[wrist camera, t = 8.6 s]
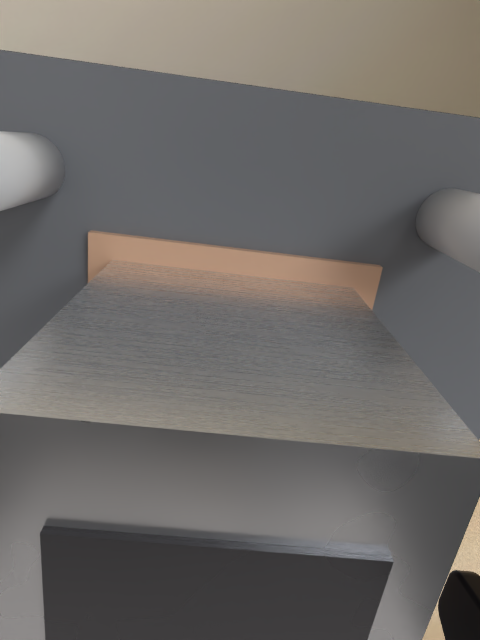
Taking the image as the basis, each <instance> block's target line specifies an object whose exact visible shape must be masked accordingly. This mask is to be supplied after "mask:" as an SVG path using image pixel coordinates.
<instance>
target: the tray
mask: <svg viewBox="0 0 480 640" xmlns="http://www.w3.org/2000/svg"><path fill="white" fill-rule="evenodd" d="M111 260H118V261H127V262H136V263H144V264H153V265H162V266H170V267H179V268H188V269H196V270H205V271H214V272H222V273H231V274H240V275H248V276H257V277H266V278H274V279H283V280H292V281H300V282H309V283H318V284H326V285H335V286H344V287H352V288H354V289H355V290H356V292H357V293H358V294H359V295H360V297H361V298H362V299H363V300H364V301H365V303H366V304H367V305H368V306H369V308H370V309H371V310H372V311H373V312H374V314H375V315H376V316H377V317H378V318H379V320H380V321H381V322H382V323H383V325H384V326H385V327H386V328H387V329H388V331H389V332H390V333H391V334H392V336H393V337H394V338H395V339H396V340H397V342H398V343H399V344H400V345H401V346H402V348H403V349H404V350H405V351H406V353H407V354H408V355H409V356H410V357H411V359H412V360H413V361H414V362H415V364H416V365H417V366H418V367H419V368H420V370H421V371H422V372H423V373H424V374H425V376H426V377H427V378H428V379H429V381H430V382H431V383H432V384H433V385H434V387H435V388H436V389H437V390H438V392H439V393H440V394H441V395H442V396H443V398H444V399H445V400H446V401H447V403H448V404H449V405H450V406H451V407H452V409H453V410H454V411H455V412H456V413H457V415H458V416H459V417H460V418H461V420H462V421H463V422H464V423H465V424H466V426H467V427H468V428H469V429H470V431H471V432H472V433H473V434H474V435H475V437H476V438H477V439H478V440H479V439H480V118H478V117H471V116H464V115H457V114H450V113H442V112H435V111H428V110H421V109H414V108H407V107H400V106H393V105H386V104H379V103H372V102H365V101H358V100H351V99H344V98H337V97H330V96H323V95H316V94H308V93H301V92H294V91H287V90H280V89H273V88H266V87H259V86H252V85H245V84H238V83H231V82H224V81H217V80H210V79H203V78H196V77H189V76H181V75H174V74H167V73H160V72H153V71H146V70H139V69H132V68H125V67H118V66H111V65H104V64H97V63H90V62H83V61H76V60H69V59H62V58H55V57H47V56H40V55H33V54H26V53H19V52H12V51H5V50H0V369H1V368H2V367H3V366H4V365H5V364H6V363H7V362H8V361H9V360H10V359H11V358H12V357H13V356H14V355H15V354H16V353H17V352H18V351H19V350H20V349H21V348H22V347H23V346H24V345H25V344H26V343H27V342H28V341H29V340H31V339H32V338H33V337H34V336H35V335H36V334H37V333H38V332H39V331H40V330H41V329H42V328H43V327H44V326H45V325H46V324H47V323H48V322H49V321H50V320H51V319H52V318H53V317H54V316H55V315H56V314H57V313H58V312H59V311H60V310H61V309H62V308H63V307H64V306H65V305H66V304H67V303H68V302H69V301H70V300H71V299H73V298H74V297H75V296H76V295H77V294H78V293H79V292H80V291H81V290H82V289H83V288H84V287H85V286H86V285H87V284H88V283H89V282H90V281H91V280H92V279H93V278H94V277H95V276H96V275H97V274H98V273H99V272H100V271H101V270H102V269H103V268H104V267H105V266H106V265H107V264H108V263H109V262H110V261H111Z"/></svg>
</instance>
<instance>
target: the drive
mask: <svg viewBox="0 0 480 640" xmlns="http://www.w3.org/2000/svg"><path fill="white" fill-rule="evenodd" d="M479 497H480V441H479V440H478V439H477V438H476V437H475V435H474V434H473V433H472V432H471V431H470V429H469V428H468V427H467V426H466V424H465V423H464V422H463V421H462V420H461V418H460V417H459V416H458V415H457V413H456V412H455V411H454V410H453V409H452V407H451V406H450V405H449V404H448V403H447V401H446V400H445V399H444V398H443V396H442V395H441V394H440V393H439V392H438V390H437V389H436V388H435V387H434V385H433V384H432V383H431V382H430V381H429V379H428V378H427V377H426V376H425V374H424V373H423V372H422V371H421V370H420V368H419V367H418V366H417V365H416V364H415V362H414V361H413V360H412V359H411V357H410V356H409V355H408V354H407V353H406V351H405V350H404V349H403V348H402V346H401V345H400V344H399V343H398V342H397V340H396V339H395V338H394V337H393V336H392V334H391V333H390V332H389V331H388V329H387V328H386V327H385V326H384V325H383V323H382V322H381V321H380V320H379V318H378V317H377V316H376V315H375V314H374V312H373V311H372V310H371V309H370V308H369V306H368V305H367V304H366V303H365V301H364V300H363V299H362V298H361V297H360V295H359V294H358V293H357V292H356V290H355V289H354V288H352V287H344V286H335V285H326V284H318V283H309V282H300V281H292V280H283V279H274V278H266V277H257V276H248V275H240V274H231V273H222V272H214V271H205V270H196V269H188V268H179V267H170V266H162V265H153V264H144V263H136V262H127V261H118V260H111V261H110V262H109V263H108V264H107V265H106V266H105V267H104V268H103V269H102V270H101V271H100V272H99V273H98V274H97V275H96V276H95V277H94V278H93V279H92V280H91V281H90V282H89V283H88V284H87V285H86V286H85V287H84V288H83V289H82V290H81V291H80V292H79V293H78V294H77V295H76V296H75V297H74V298H73V299H71V300H70V301H69V302H68V303H67V304H66V305H65V306H64V307H63V308H62V309H61V310H60V311H59V312H58V313H57V314H56V315H55V316H54V317H53V318H52V319H51V320H50V321H49V322H48V323H47V324H46V325H45V326H44V327H43V328H42V329H41V330H40V331H39V332H38V333H37V334H36V335H35V336H34V337H33V338H32V339H31V340H29V341H28V342H27V343H26V344H25V345H24V346H23V347H22V348H21V349H20V350H19V351H18V352H17V353H16V354H15V355H14V356H13V357H12V358H11V359H10V360H9V361H8V362H7V363H6V364H5V365H4V366H3V367H2V368H1V369H0V640H422V638H423V636H424V634H425V631H426V629H427V626H428V624H429V621H430V619H431V616H432V614H433V611H434V609H435V606H436V604H437V601H438V599H439V596H440V594H441V591H442V589H443V586H444V584H445V581H446V579H447V576H448V574H449V571H450V569H451V566H452V564H453V562H454V559H455V557H456V554H457V552H458V549H459V547H460V544H461V542H462V539H463V537H464V534H465V532H466V529H467V527H468V524H469V522H470V519H471V517H472V514H473V512H474V509H475V507H476V504H477V502H478V499H479Z"/></svg>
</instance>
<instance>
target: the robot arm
mask: <svg viewBox="0 0 480 640" xmlns="http://www.w3.org/2000/svg"><path fill="white" fill-rule="evenodd" d="M438 611H439V617H440V621H441V624H442V628H443V632H444V636H445V640H480V576H479V575H478V574H476V573H474V572H470V571H458V570H455V571H452V572H451V573H450V574H449V577H448V579H447V582H446V584H445V586H444V589H443V591H442V594H441V596H440V599H439V604H438Z"/></svg>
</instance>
